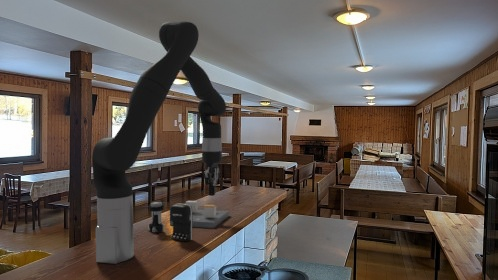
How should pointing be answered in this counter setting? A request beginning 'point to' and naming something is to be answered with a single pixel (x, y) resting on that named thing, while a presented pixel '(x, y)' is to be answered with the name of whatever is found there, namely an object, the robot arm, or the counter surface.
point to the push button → (156, 217)
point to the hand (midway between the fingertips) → (212, 195)
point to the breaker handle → (210, 211)
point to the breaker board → (205, 221)
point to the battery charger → (181, 222)
